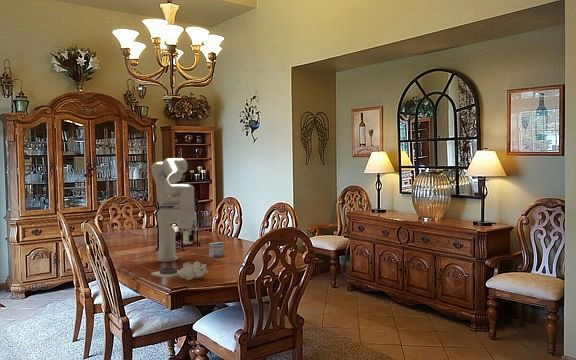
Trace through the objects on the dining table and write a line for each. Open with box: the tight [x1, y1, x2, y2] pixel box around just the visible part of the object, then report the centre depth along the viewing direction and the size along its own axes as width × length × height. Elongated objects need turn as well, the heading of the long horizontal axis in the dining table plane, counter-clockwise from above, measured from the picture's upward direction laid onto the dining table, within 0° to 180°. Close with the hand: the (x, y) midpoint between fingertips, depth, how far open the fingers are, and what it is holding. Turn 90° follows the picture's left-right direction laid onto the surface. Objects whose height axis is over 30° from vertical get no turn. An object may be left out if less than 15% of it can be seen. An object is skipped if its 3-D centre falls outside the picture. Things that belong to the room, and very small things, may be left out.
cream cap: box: [182, 229, 193, 245], centre depth 279 cm, size 5×5×7 cm
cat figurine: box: [178, 261, 209, 282], centre depth 265 cm, size 10×8×15 cm
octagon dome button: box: [150, 266, 181, 279], centre depth 275 cm, size 13×13×3 cm
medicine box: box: [208, 241, 224, 259], centre depth 321 cm, size 8×4×9 cm, turn 126°
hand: (187, 240), depth 279 cm, fingers closed on cream cap, 4 cm apart
